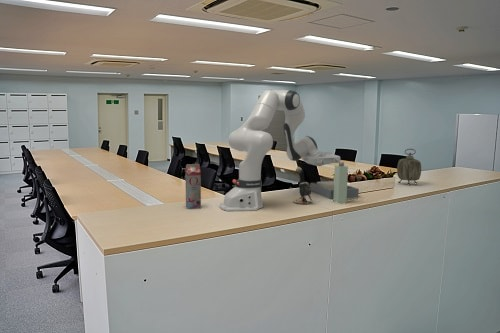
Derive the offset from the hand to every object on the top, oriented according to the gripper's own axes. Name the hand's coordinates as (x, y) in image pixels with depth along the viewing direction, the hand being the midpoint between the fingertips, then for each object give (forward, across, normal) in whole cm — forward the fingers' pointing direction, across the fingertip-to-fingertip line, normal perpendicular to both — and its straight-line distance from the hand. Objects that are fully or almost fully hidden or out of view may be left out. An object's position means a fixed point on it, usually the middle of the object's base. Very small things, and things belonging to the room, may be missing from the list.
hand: (330, 161), depth 220 cm
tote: (-5, +6, +21) cm, 22 cm away
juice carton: (+1, -78, +20) cm, 81 cm away
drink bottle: (+12, 0, +21) cm, 24 cm away
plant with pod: (+8, -20, +21) cm, 30 cm away
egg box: (-11, +6, +20) cm, 24 cm away
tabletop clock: (-24, +76, +22) cm, 82 cm away
